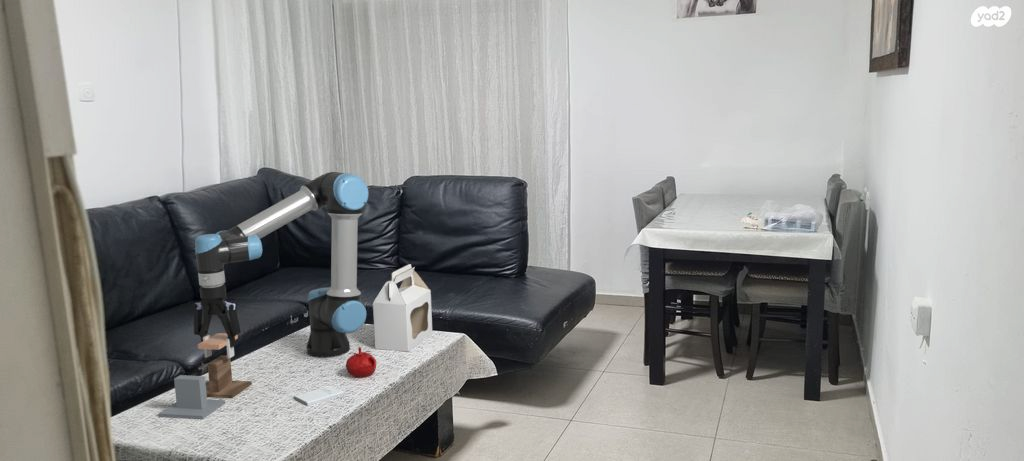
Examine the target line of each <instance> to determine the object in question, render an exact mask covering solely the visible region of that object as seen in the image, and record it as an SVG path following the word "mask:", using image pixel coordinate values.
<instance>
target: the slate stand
mask: <svg viewBox="0 0 1024 461" xmlns="http://www.w3.org/2000/svg"><path fill="white" fill-rule="evenodd" d="M173 380H174V391H175V392H174V393H175V394H174V395H175V400H176V401H175V402H174V403H173V404H171V405H169V406H168V407H167V408H165V409H162V411H160V412H158V414H157V415H158V418H172V419H189V420H190V419H191V420H204V419H206V418H207V417H209V416H210V415H211V414H212V413H214V412H215V411H216V410H218V409H219V408H221V407H222V406H224V405H225V404H226V400H225V399H212V398H211V399H210V398H209V399H208V397H207V394H206V383H207V382H206V377H205V376H204V375H203V376H202V375H184V374H183V375H182V374H180V375H178V376H176V377H175V378H173Z"/></svg>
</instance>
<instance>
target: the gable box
mask: <svg viewBox="0 0 1024 461" xmlns="http://www.w3.org/2000/svg"><path fill="white" fill-rule="evenodd" d="M415 267H416V266H413V267H412V264H411V263H408V264H405V265H404V266H402V267H400V268H398V269H395V270H394V271H391V273H390V280H388V281H386V282H385V283H384V285H383V286H382V288H381V290H380V291H379V293H378V294H377V296H376V297H375V299H374V300H373V302H372V312H373V330H374V333H373V334H374V348H375V350H380V349H383V350H382V351H392V350H395V351H394V352H404V351H405V352H406V353H409V352H410V351H412V350H413V349H414V348H415V347H417V346H419V345H420V344H421V343H422V342H424V341H425V340H426V339H428V338H429V337H431V336H432V335H433V317H432V316H433V315H432V294H431V293H432V292H431V289H430V287H429V286H428V285H427V284H426V283H425V282H424V280H423V279H422V277H421V276H420V275H419V274H418V272H417V271H415ZM399 282H401V284H400V286H399V288H398V285H397V284H398V283H399Z"/></svg>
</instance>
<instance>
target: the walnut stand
mask: <svg viewBox="0 0 1024 461" xmlns="http://www.w3.org/2000/svg"><path fill="white" fill-rule="evenodd" d="M231 361H232V360H231V358H228V356H227V355H222V354H221V355H219V356H217V357H216V358H215V359H213V360H211V361H210V362H208V363H207V372H208V373H207V374H208V381H207V382H205V383H206V394H207V398H219V399H220V398H221V399H233V398H235V397H236V396H238V395H240V394H241V393H242V392H244V391H245V390H246V389H247V388H249V387H250V386H252V384H253V383H252V381H251V380H250V381H249V380H233V374H232V373H233V372H232V362H231Z"/></svg>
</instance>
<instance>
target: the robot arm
mask: <svg viewBox="0 0 1024 461" xmlns="http://www.w3.org/2000/svg"><path fill="white" fill-rule="evenodd" d="M299 188H300V189H299V190H298V191H297V192H295V193H293V194H292V195H289V196H288V197H285V198H284V199H282V200H279V201H278V202H277V203H275V204H273V205H271V206H270V207H268V208H266V209H264V210H262V211H261V212H258V213H257V214H255V215H253V216H252V217H250V218H248V219H246V220H244V221H243V222H241V223H238V224H237V225H236V226H233V227H231V228H230V229H227V230H220V231H217V232H216V233H209V234H208V233H207V234H202V235H198V236H196V238H195V239H194V241H195V242H194V244H195V246H194V248H195V249H194V250H195V251H194V253H195V257H196V264H197V265H196V266H197V274H198V284H199V286H200V287H199V296H200V299H201V301H200V302H199V301H198V302H195V303H193V304H192V305H191V306H192V309H193V334H194V335H195V336H196V335H197V336H200V343H201V342H203V341H204V340H206V339H208V338H210V337H211V334H209V328H210V323H211V321H212V316H213V315H214V316H217V318H218V319H219V320H220V321H221V324H222V327H223V329H224V331H225V333H227V335H228V337H227V338H226V356H228V358H230V359H231V358H233V357H234V356H235V348H234V347H235V346H236V340H235V336H236V335H238V336H239V334H241V327H240V323H239V318H238V313H237V303H236V302H233V303H232V302H228V299H227V287H226V284H225V283H226V276H225V268H224V266H225V265H226V264H233V263H239V262H245V261H253V260H256V259H260V258H261V256H262V254H263V245H262V241H261V239H263V238H264V237H266V236H267V235H269V234H271V233H272V232H274V231H276V230H278V229H280V228H282V227H284V225H287V224H289V223H290V222H292V221H294V220H295V219H298V218H299V217H301V216H303V215H304V214H306V213H308V212H310V211H315V212H316V211H318V210H319V209H322V208H323V207H327V208H326V209H327V212H326V213H327V215H329V217H330V218H331V250H330V251H331V253H330V254H331V262H330V263H331V264H330V269H331V270H330V272H331V274H330V276H331V277H330V278H331V279H330V286H329V287H320V288H315V289H312V290H310V291H309V293H308V295H307V297H308V300H307V302H308V314H309V327H310V328H309V329H310V332H309V335H308V339H307V340H308V341H307V344H306V354H307V355H308V356H311V357H315V358H331V357H332V358H333V357H338V356H341V355H344V354H347V353H348V352H350V350H351V347H350V345H351V343H350V340H349V338H348V334H353V333H355V332H358V331H359V330H360V328H361V327H363V325H364V323H365V322H366V319H367V310H366V307H365V305H364V304H363V303H362V292H361V291H360V290H359V288H358V287H357V285H358V281H357V278H358V275H357V274H358V230H359V229H358V228H359V227H358V226H359V225H358V223H359V222H358V221H359V218H360V217H361V216H362V215H363V207H364V206H365V204H366V203H368V200H369V199H368V198H369V188H368V186H367V184H366V182H365V181H364V180H363V179H362V178H361V177H360V176H358V175H355V174H352V173H346V172H337V171H330V172H326V173H323V174H321V175H320V176H317V177H315V178H314V179H311V180H310V181H308V182H307V183H305V184H303V185H301V186H300V187H299ZM203 310H204V312H203ZM227 311H228V312H227ZM203 351H204V353H203V354H204V358H205V359H206V358H209V357H211V356H213V355H212V354H213V353H212V349H203Z"/></svg>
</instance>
